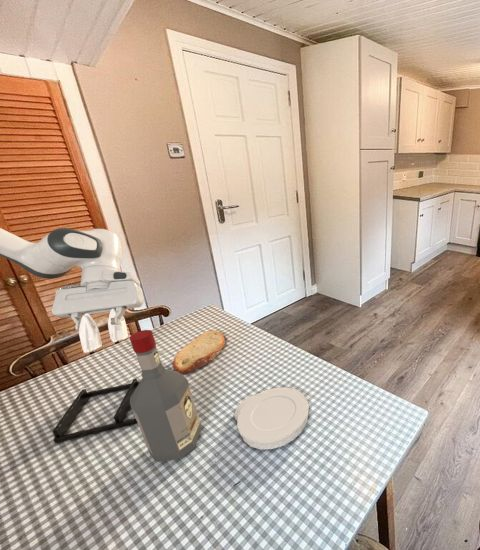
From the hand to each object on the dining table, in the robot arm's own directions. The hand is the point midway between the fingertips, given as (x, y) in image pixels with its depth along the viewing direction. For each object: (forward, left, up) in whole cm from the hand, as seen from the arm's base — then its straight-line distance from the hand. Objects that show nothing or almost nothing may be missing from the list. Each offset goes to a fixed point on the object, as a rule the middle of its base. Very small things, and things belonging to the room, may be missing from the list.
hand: (98, 327), depth 83 cm
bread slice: (+21, +7, -19) cm, 29 cm away
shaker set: (0, +1, -7) cm, 7 cm away
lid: (+42, -30, -19) cm, 55 cm away
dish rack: (+3, -12, -19) cm, 22 cm away
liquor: (+21, -30, -19) cm, 41 cm away
